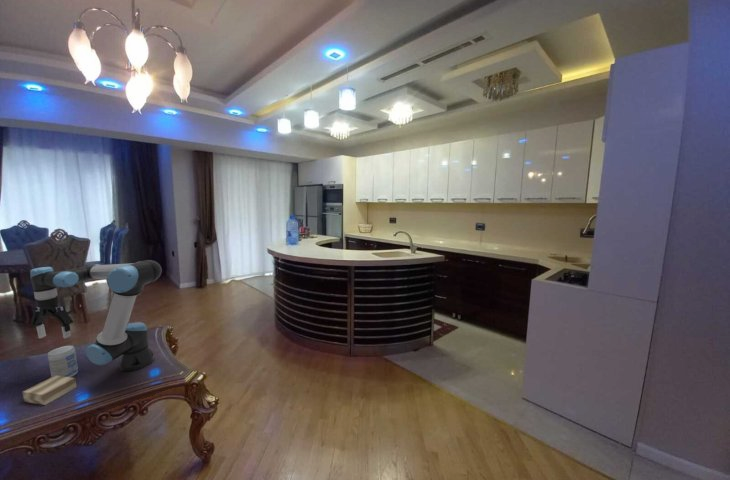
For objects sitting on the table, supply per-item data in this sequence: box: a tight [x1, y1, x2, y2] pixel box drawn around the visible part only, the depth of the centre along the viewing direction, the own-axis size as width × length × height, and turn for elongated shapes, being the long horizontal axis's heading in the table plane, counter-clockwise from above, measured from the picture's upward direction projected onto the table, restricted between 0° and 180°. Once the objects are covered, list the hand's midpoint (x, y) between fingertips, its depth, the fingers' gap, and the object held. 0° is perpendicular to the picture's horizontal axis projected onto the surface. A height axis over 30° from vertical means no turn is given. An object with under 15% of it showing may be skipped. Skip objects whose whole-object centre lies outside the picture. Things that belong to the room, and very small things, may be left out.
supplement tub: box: [47, 345, 79, 378], centre depth 143 cm, size 10×10×15 cm
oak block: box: [22, 375, 77, 406], centre depth 131 cm, size 12×12×5 cm
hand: (54, 337), depth 142 cm, fingers open, 13 cm apart
